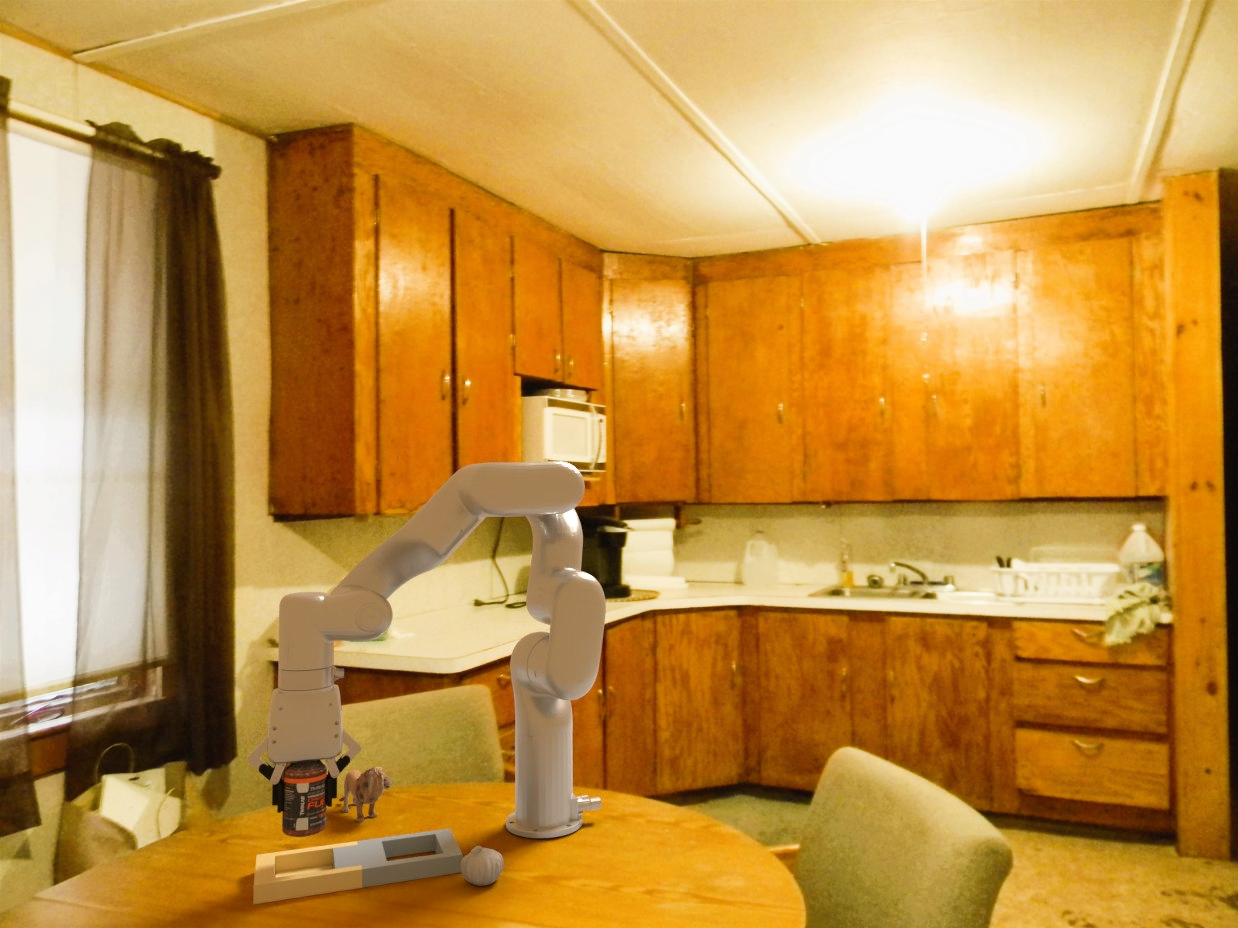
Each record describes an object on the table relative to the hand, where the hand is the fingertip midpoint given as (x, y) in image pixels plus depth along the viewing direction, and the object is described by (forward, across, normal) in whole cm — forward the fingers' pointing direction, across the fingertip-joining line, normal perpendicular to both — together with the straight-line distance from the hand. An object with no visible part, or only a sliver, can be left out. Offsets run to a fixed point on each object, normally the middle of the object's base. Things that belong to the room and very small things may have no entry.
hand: (304, 805), depth 125 cm
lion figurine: (+11, -10, -25) cm, 29 cm away
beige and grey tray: (+10, -8, 0) cm, 13 cm away
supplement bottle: (+4, 0, 0) cm, 4 cm away
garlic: (+11, -24, +10) cm, 28 cm away
